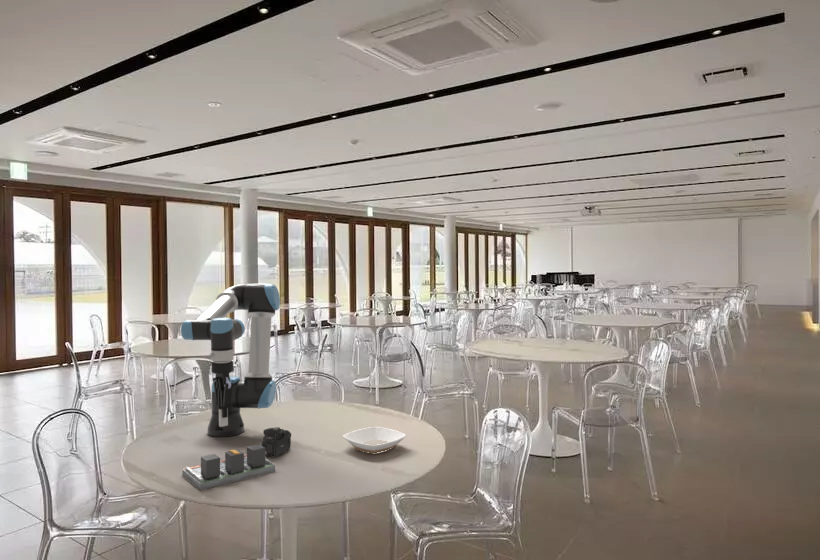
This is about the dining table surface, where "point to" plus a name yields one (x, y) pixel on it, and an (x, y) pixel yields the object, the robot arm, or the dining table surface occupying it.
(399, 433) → the bowl
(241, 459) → the block
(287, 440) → the camera
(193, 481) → the panel
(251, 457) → the breaker
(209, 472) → the block
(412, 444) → the dining table surface
